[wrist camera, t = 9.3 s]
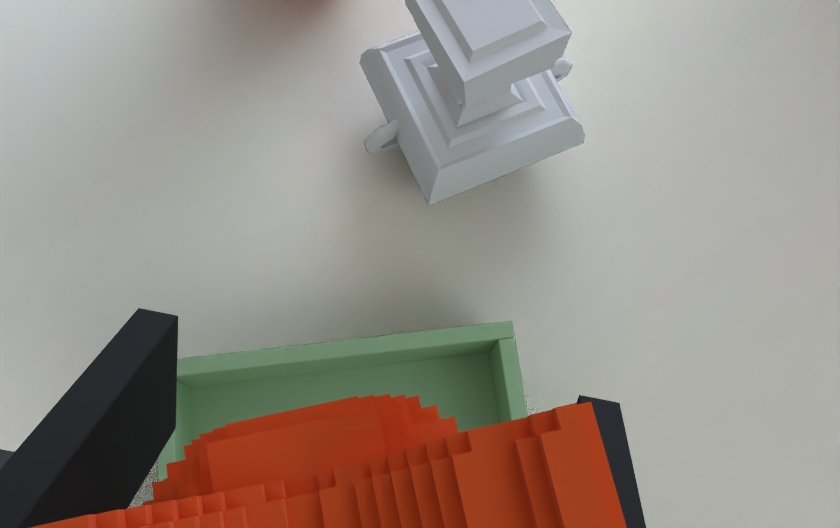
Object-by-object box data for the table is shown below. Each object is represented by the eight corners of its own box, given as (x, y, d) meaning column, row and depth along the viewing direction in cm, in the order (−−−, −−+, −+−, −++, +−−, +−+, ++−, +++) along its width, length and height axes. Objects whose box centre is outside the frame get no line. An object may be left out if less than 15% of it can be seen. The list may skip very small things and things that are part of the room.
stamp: (399, 240, 30) (404, 147, 22) (334, 104, 32) (316, -29, 24) (595, 158, 32) (666, 41, 24) (523, 32, 33) (566, -117, 25)
